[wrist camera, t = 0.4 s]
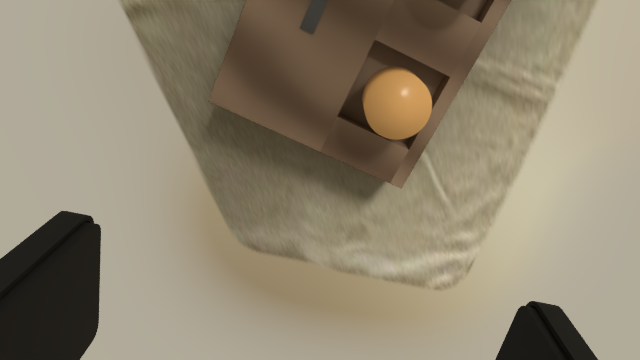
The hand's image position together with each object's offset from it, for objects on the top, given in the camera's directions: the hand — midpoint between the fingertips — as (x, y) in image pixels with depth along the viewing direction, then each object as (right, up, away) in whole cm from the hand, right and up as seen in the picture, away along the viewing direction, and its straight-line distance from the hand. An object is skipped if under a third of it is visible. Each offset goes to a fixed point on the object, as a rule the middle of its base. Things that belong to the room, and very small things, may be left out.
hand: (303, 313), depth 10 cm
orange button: (+6, +9, +23) cm, 25 cm away
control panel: (+4, +16, +24) cm, 30 cm away
